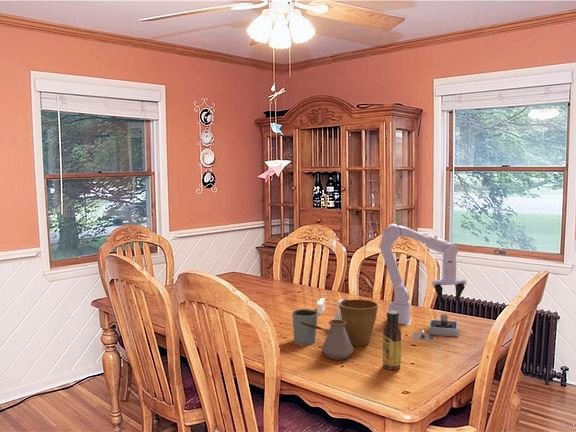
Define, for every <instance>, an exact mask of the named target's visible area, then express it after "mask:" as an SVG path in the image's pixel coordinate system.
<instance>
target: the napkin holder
mask: <svg viewBox="0 0 576 432" xmlns="http://www.w3.org/2000/svg"><path fill="white" fill-rule="evenodd" d="M316 305H317V307H316V308H317V309H316V311H317V312H318V315H323V312H324V311H326V299H325V298H323V297H321V298H319V300H317V303H316Z"/></svg>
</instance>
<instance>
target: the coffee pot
mask: <svg viewBox="0 0 576 432" xmlns="http://www.w3.org/2000/svg"><path fill="white" fill-rule="evenodd" d="M300 323H301V326H302V324H304V325H305V326H309V327H311V328H315V329H316V330H321V331H324V332H327V336H326V338H325V340H324V342H323V344H322V347H321V350H322V352H323V353H324V354H325V356H326V357H327V358H328V359H331V360H336V361H341V360H347V359H348V358H349V357H350V356H351V355H352V354H353V352H354V346H353V345H352V344H351V342H350V339H349V337H348V335H347V332H346V330H345V324H346V321H344V320H335V319H331V320H329V321H328V324H329V326H330V329H329V328H324V327H321V326H318V325H313V324H308V323H307V322H306V323H304V322H300ZM298 326H299V325H298Z"/></svg>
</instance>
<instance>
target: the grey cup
mask: <svg viewBox="0 0 576 432" xmlns="http://www.w3.org/2000/svg"><path fill="white" fill-rule="evenodd" d="M291 314H292V316H291V317H292V327H293V342H294V343H295V344H296V345H300V346H309V345H313V344H315V343H316V337H317V336H316V335H317V329H315V328H311V327H309V326H305V325H304V324H302V326H301V323H300V322H304V323H306V322H307V323H308V324H313V325H316V326H318V315H319V314H318V312H317V310H314V309H310V308H301V309H300V308H299V309H296V310H293V311H292V313H291ZM298 325H299V326H298Z"/></svg>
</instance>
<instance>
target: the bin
mask: <svg viewBox="0 0 576 432" xmlns="http://www.w3.org/2000/svg"><path fill="white" fill-rule="evenodd" d="M439 322H441V319H440V320H439V319H430V320H429V326H428V327H429V330H428V332H429V333H428V334H433V336H434V335H435V336H446V337H458V336H459V323H458V321H456V320H448V323H451V324H452V328H438V327H436V324H437V323H439Z"/></svg>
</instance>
